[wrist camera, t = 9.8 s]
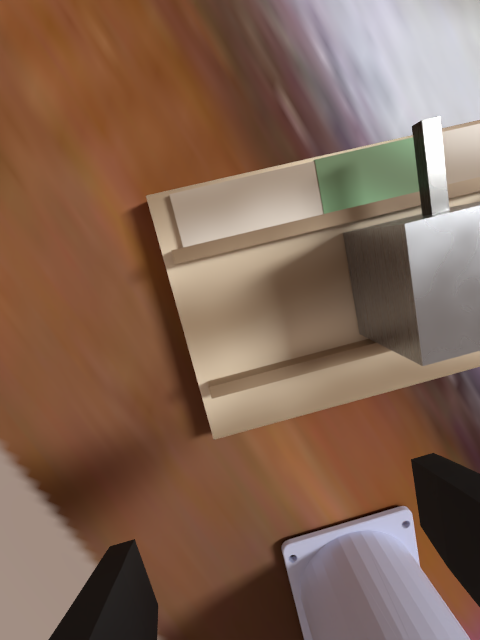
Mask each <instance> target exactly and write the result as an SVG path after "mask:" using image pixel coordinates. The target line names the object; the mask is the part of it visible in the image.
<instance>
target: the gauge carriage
mask: <svg viewBox="0 0 480 640" xmlns="http://www.w3.org/2000/svg"><path fill="white" fill-rule="evenodd" d="M412 132H413V140H414V149H415V158H416V166H417V175H418V184H419V192H420V201H421V210H422V214H418V215H414V216H410V217H406V218H401V219H397V220H393V221H389V222H385V223H381V224H377V225H373V226H368V227H364V228H360V229H356V230H352V231H348V232H344V233H343V237H344V243H345V250H346V256H347V262H348V268H349V274H350V280H351V286H352V292H353V298H354V304H355V310H356V316H357V322H358V328H359V334H360V335H362V336H364V337H366V338H368V339H370V340H372V341H374V342H376V343H378V344H380V345H382V346H384V347H386V348H388V349H390V350H392V351H394V352H396V353H398V354H400V355H402V356H404V357H406V358H408V359H410V360H411V361H413V362H415V363H417V364H419V365H421V366H425V365H429V364H433V363H436V362H440V361H444V360H447V359H451V358H455V357H459V356H462V355H466V354H470V353H473V352H477V351H480V202H475V203H470V204H464V205H459V206H453V207H449V199H448V189H447V179H446V169H445V159H444V149H443V139H442V128H441V118H440V116H439V117H434V118H430V119H425V120H422V121H420V122H418V123H417V124H415V125H413V126H412Z"/></svg>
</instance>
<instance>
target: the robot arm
mask: <svg viewBox="0 0 480 640" xmlns="http://www.w3.org/2000/svg"><path fill="white" fill-rule="evenodd" d="M411 462H412V469H413V476H414V483H415V490H416V497H417V504H418V511H419V518H420V525H421V527H422V529H423V530H424V532H425V533H426V535H427V536H428V538H429V539H430V541H431V543H432V544H433V546H434V547H435V549H436V550H437V552H438V553H439V555H440V556H441V558H442V559H443V561H444V562H445V564H446V565H447V567H448V568H449V569H450V571H451V572H452V573H453V574H454V576H455V577H456V578H457V579H458V581H459V582H460V583H461V584H462V586H463V587H464V588H465V589H466V591H467V592H468V593H469V594H470V596H471V597H472V598H473V599H474V601H475V602H476V603H477V604H478V606H479V607H480V474H479V473H477V472H475V471H472V470H470V469H468V468H466V467H464V466H462V465H459V464H457V463H455V462H453V461H451V460H448V459H446V458H444V457H442V456H439V455H437V454H434V453H432V454H428V455H425V456H421V457H418V458H414V459H411ZM404 521H405V522H404ZM403 522H404V523H403ZM282 553H283V557H284V561H285V565H286V569H287V573H288V577H289V581H290V585H291V589H292V593H293V597H294V601H295V605H296V609H297V613H298V617H299V621H300V625H301V629H302V633H303V637H304V640H471V639H470V638H469V636H468V635H467V634H466V632H465V631H464V629H463V628H462V626H461V625H460V624H459V622H458V621H457V619H456V618H455V616H454V615H453V614H452V612H451V611H450V609H449V608H448V606H447V605H446V603H445V602H444V601H443V599H442V598H441V596H440V595H439V593H438V592H437V591H436V589H435V588H434V586H433V585H432V583H431V582H430V581H429V579H428V578H427V576H426V575H425V573H424V572H423V571H422V569H421V568H420V564H419V557H418V550H417V544H416V537H415V530H414V523H413V516H412V513H411V511H410V510H409V509H408V508H407V507H405V506H400V507H396V508H393V509H390V510H386V511H383V512H380V513H376V514H373V515H370V516H366V517H363V518H359V519H356V520H353V521H349V522H346V523H343V524H339V525H336V526H333V527H329V528H326V529H322V530H319V531H316V532H312V533H309V534H306V535H302V536H299V537H296V538H292V539H289V540H286V541H285V542H284V543H283V544H282ZM291 555H294V556H292V557H290V556H291ZM157 624H158V603H157V600H156V598H155V595H154V592H153V589H152V587H151V584H150V581H149V578H148V575H147V573H146V570H145V567H144V564H143V561H142V559H141V556H140V553H139V550H138V547H137V545H136V542H135V539H134V540H131V541H127V542H124V543H120V544H117V545H113V546H110V547H109V549H108V550H107V552H106V553H105V555H104V556H103V558H102V559H101V561H100V562H99V564H98V565H97V567H96V568H95V570H94V571H93V573H92V575H91V576H90V578H89V579H88V581H87V582H86V584H85V585H84V587H83V588H82V590H81V591H80V593H79V595H78V596H77V598H76V599H75V601H74V602H73V604H72V605H71V607H70V608H69V610H68V612H67V613H66V614H65V616H64V617H63V619H62V620H61V622H60V623H59V625H58V627H57V628H56V629H55V631H54V633H53V634H52V635H51V637H50V638H49V640H157Z"/></svg>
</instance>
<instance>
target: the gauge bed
mask: <svg viewBox="0 0 480 640" xmlns="http://www.w3.org/2000/svg"><path fill="white" fill-rule="evenodd" d="M442 139H443V149H444V159H445V169H446V179H447V189H448V199H449V207H453V206H459V205H464V204H470V203H475V202H480V120H477V121H473V122H469V123H464V124H460V125H455V126H451V127H447V128H442ZM146 198H147V201H148V205H149V209H150V212H151V216H152V219H153V223H154V227H155V230H156V234H157V237H158V241H159V245H160V248H161V252H162V255H163V259H164V263H165V266H166V270H167V273H168V277H169V281H170V284H171V288H172V291H173V295H174V299H175V302H176V306H177V309H178V313H179V317H180V320H181V324H182V327H183V331H184V335H185V338H186V342H187V345H188V349H189V353H190V356H191V360H192V363H193V367H194V371H195V374H196V378H197V381H198V385H199V389H200V392H201V396H202V399H203V403H204V407H205V410H206V414H207V417H208V421H209V424H210V428H211V432H212V435H213V439H218V438H222V437H225V436H229V435H233V434H236V433H240V432H243V431H247V430H251V429H254V428H258V427H262V426H265V425H269V424H273V423H276V422H280V421H283V420H287V419H291V418H294V417H298V416H302V415H305V414H309V413H313V412H316V411H320V410H323V409H327V408H331V407H334V406H338V405H342V404H345V403H349V402H353V401H356V400H360V399H364V398H367V397H371V396H374V395H378V394H382V393H385V392H389V391H393V390H396V389H400V388H404V387H407V386H411V385H414V384H418V383H422V382H425V381H429V380H433V379H436V378H440V377H444V376H447V375H451V374H454V373H458V372H462V371H465V370H469V369H473V368H476V367H480V351H477V352H473V353H470V354H466V355H462V356H459V357H455V358H451V359H447V360H444V361H440V362H436V363H433V364H429V365H425V366H421V365H419V364H417V363H415V362H413V361H411V360H410V359H408V358H406V357H404V356H402V355H400V354H398V353H396V352H394V351H392V350H390V349H388V348H386V347H384V346H382V345H380V344H378V343H376V342H374V341H372V340H370V339H368V338H366V337H364V336H362V335H360V334H359V328H358V322H357V316H356V310H355V304H354V298H353V292H352V286H351V280H350V274H349V268H348V262H347V256H346V250H345V243H344V237H343V233H344V232H348V231H352V230H356V229H360V228H364V227H368V226H373V225H377V224H381V223H385V222H389V221H393V220H397V219H401V218H406V217H410V216H414V215H418V214H422V210H421V201H420V192H419V184H418V175H417V166H416V158H415V149H414V140H413V135H411V136H407V137H403V138H398V139H394V140H389V141H385V142H381V143H376V144H372V145H367V146H363V147H359V148H354V149H350V150H345V151H341V152H336V153H332V154H328V155H323V156H319V157H314V158H310V159H306V160H301V161H297V162H292V163H288V164H284V165H279V166H275V167H270V168H266V169H262V170H257V171H253V172H248V173H244V174H240V175H235V176H231V177H226V178H222V179H218V180H213V181H209V182H204V183H200V184H196V185H191V186H187V187H182V188H178V189H173V190H169V191H165V192H160V193H156V194H151V195H147V196H146Z"/></svg>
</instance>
